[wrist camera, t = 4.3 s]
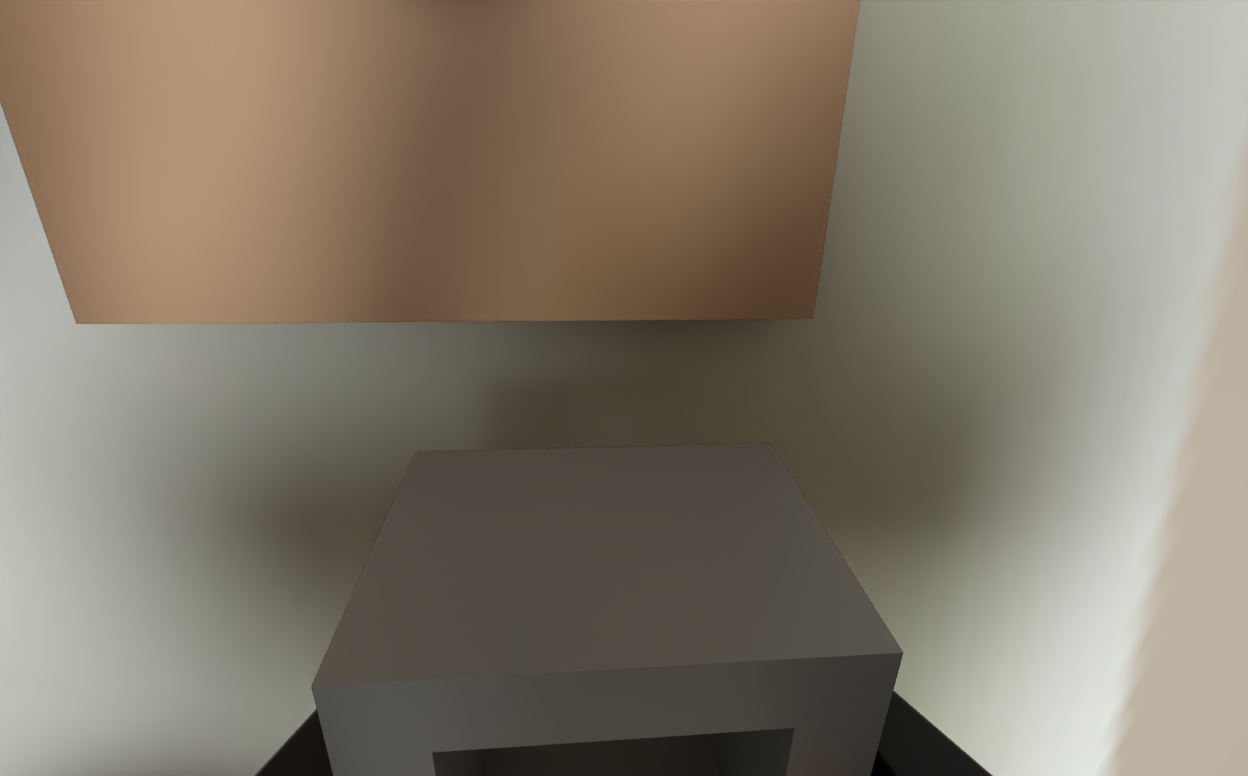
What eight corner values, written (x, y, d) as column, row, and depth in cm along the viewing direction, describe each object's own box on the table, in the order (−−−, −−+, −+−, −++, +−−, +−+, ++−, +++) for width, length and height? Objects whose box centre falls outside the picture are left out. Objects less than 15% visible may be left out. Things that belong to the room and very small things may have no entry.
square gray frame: (448, 711, 11) (376, 1081, 7) (414, 451, 9) (282, 752, 5) (738, 693, 11) (839, 1028, 7) (769, 442, 9) (940, 710, 5)
